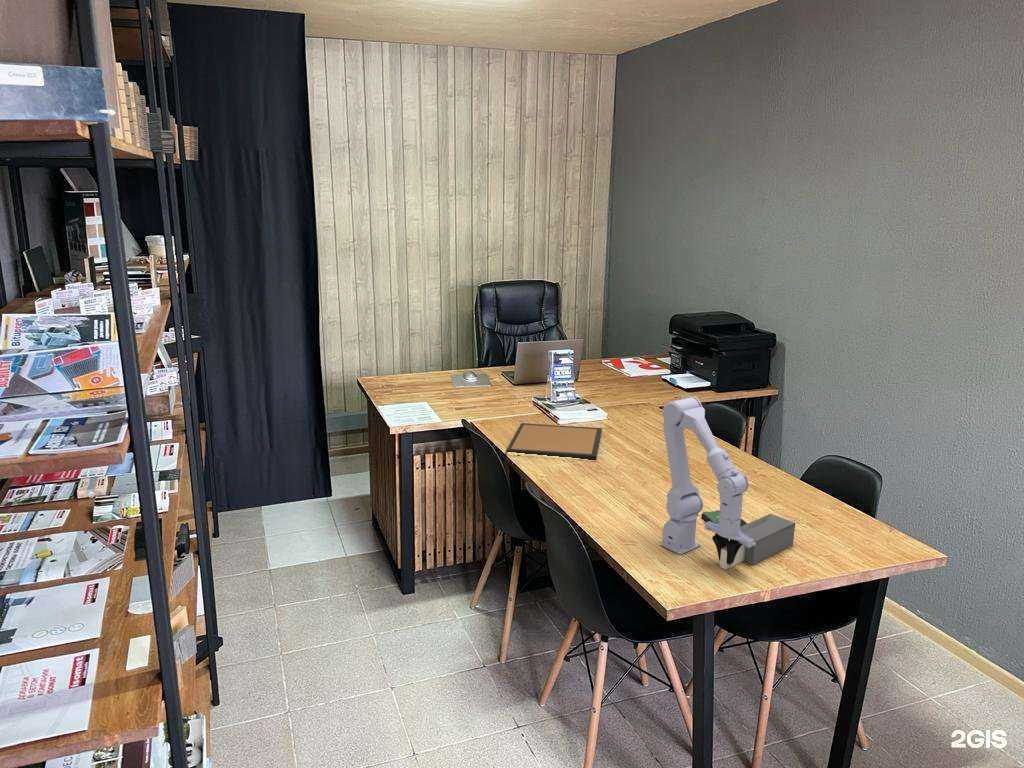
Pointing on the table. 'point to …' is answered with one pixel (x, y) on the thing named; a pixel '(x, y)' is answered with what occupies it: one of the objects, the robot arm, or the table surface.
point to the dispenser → (768, 537)
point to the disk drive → (715, 517)
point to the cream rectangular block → (738, 558)
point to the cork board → (556, 441)
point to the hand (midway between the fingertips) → (726, 561)
